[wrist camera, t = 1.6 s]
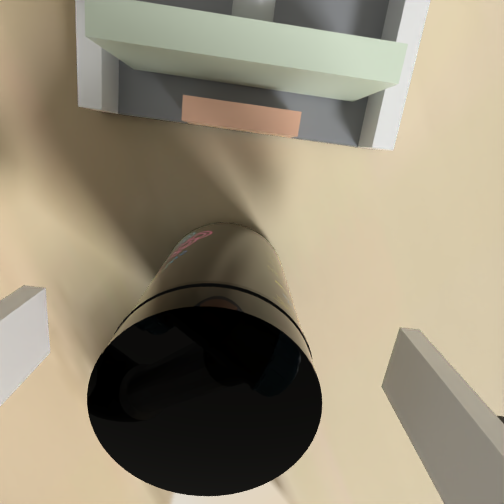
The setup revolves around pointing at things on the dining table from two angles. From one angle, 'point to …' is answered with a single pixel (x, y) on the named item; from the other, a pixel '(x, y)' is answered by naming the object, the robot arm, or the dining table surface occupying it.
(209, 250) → the supplement container
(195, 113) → the pusher lane
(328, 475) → the dining table surface
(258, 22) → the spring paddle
